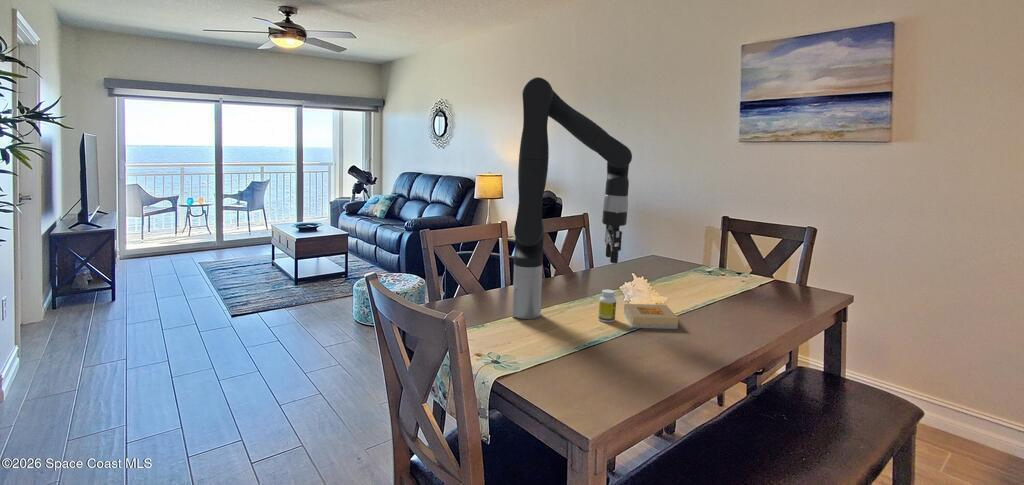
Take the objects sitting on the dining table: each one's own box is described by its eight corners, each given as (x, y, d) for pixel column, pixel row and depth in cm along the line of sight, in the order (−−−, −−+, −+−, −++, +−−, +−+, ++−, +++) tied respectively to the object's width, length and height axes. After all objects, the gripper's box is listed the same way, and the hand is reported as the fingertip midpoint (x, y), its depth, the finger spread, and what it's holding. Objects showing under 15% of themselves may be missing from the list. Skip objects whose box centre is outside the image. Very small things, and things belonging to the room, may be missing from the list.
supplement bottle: (614, 323, 174) (616, 293, 172) (597, 322, 175) (599, 292, 173) (615, 318, 179) (616, 289, 178) (598, 316, 181) (600, 288, 179)
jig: (632, 327, 171) (633, 317, 170) (623, 313, 184) (624, 303, 184) (677, 328, 171) (678, 318, 170) (665, 314, 184) (665, 304, 184)
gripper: (599, 206, 178) (596, 254, 181) (607, 211, 164) (603, 264, 167) (622, 207, 178) (618, 255, 181) (632, 213, 164) (627, 265, 167)
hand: (611, 259), depth 174 cm, fingers open, 8 cm apart
